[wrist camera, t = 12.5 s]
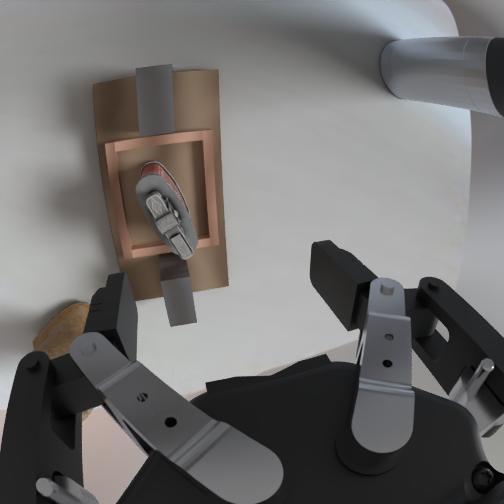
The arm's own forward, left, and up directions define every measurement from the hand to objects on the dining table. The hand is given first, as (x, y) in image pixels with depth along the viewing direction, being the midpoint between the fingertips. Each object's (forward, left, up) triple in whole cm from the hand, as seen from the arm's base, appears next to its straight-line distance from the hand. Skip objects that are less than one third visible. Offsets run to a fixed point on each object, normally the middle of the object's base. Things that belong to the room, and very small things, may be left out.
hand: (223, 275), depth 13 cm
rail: (+2, +2, -23) cm, 23 cm away
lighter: (+2, +2, -22) cm, 22 cm away
